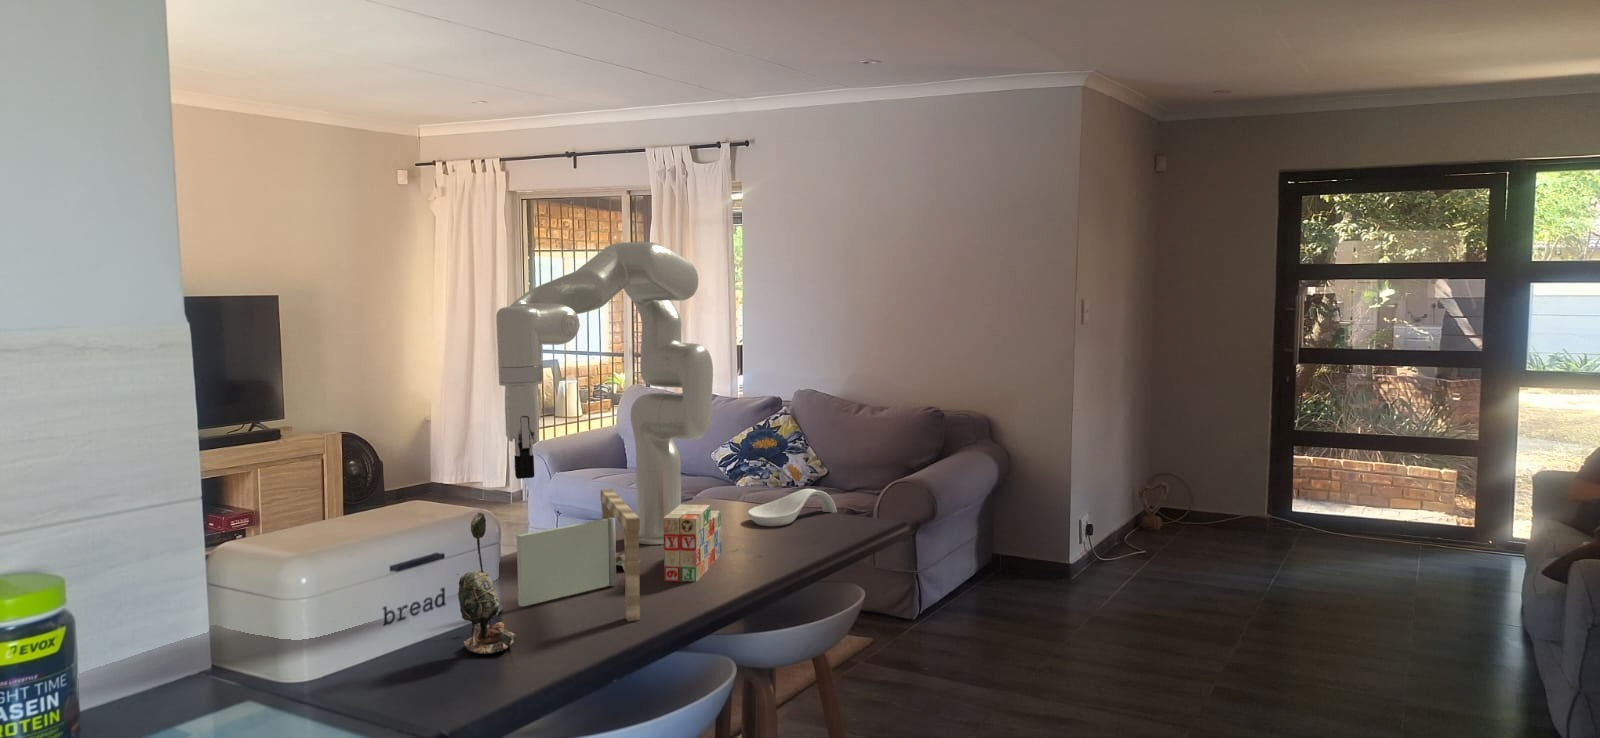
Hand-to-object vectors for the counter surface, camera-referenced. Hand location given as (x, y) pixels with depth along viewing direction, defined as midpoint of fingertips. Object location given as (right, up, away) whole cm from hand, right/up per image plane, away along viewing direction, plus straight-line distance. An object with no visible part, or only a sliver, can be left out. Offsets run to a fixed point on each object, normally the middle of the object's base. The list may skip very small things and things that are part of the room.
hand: (524, 477), depth 195 cm
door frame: (+18, -21, -7) cm, 28 cm away
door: (+9, -20, -5) cm, 22 cm away
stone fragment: (+5, -18, +14) cm, 24 cm away
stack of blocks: (+29, -19, +15) cm, 38 cm away
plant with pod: (+2, -23, -32) cm, 39 cm away
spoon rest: (+48, -17, +58) cm, 77 cm away
